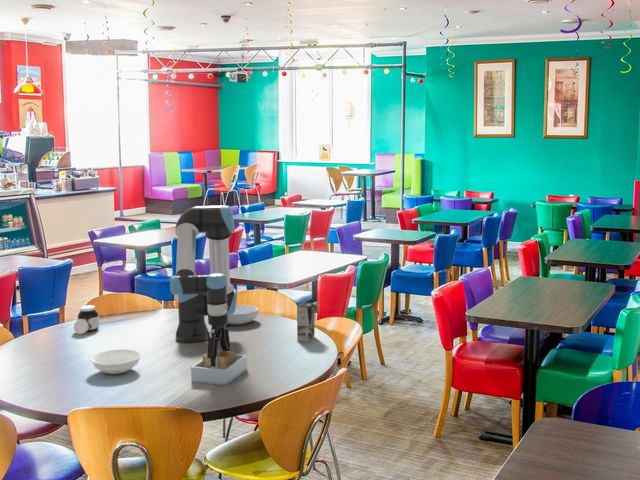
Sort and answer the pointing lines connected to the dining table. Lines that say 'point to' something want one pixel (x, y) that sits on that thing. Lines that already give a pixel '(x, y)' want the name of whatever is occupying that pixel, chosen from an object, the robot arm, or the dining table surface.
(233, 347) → the dining table surface
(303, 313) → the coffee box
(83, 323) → the spread jar
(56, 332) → the dining table surface
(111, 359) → the bowl
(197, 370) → the plastic tote
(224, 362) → the wooden crate
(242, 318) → the serving bowl
